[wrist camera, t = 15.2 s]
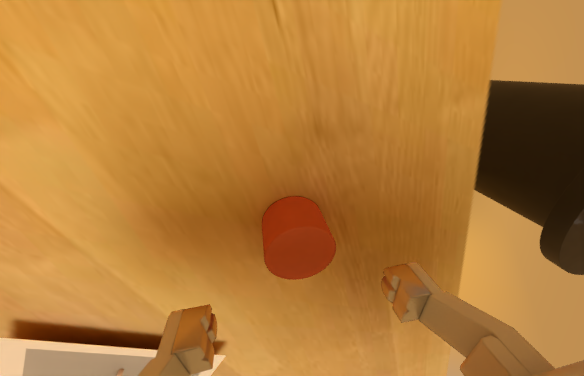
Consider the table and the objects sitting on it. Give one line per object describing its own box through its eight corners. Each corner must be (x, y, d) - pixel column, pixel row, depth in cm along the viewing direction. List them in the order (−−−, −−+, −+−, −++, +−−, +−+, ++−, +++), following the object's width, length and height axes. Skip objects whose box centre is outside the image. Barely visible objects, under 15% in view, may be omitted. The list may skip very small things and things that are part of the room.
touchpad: (13, 319, 14) (-23, 357, 12) (227, 342, 20) (224, 370, 18) (8, 375, 17) (-22, 412, 15) (197, 380, 23) (192, 408, 21)
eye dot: (321, 191, 13) (338, 221, 11) (320, 238, 15) (334, 273, 13) (257, 200, 13) (259, 233, 10) (265, 247, 15) (268, 285, 12)
